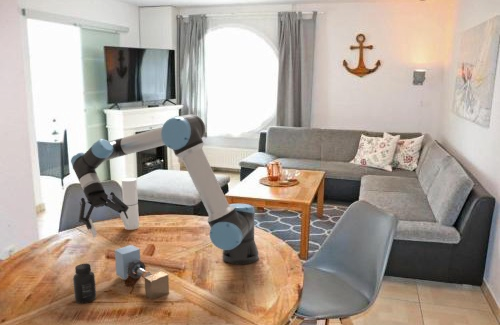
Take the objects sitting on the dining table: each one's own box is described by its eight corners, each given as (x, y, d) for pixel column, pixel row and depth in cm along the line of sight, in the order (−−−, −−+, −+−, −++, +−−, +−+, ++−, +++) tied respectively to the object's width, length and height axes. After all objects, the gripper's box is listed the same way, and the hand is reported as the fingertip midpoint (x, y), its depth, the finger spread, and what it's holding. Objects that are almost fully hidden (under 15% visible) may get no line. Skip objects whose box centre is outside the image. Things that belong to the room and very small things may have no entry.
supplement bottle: (99, 293, 147) (96, 261, 145) (92, 303, 141) (89, 270, 138) (79, 294, 147) (76, 262, 145) (71, 304, 140) (68, 271, 138)
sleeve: (116, 274, 160) (114, 249, 158) (132, 268, 164) (131, 244, 163) (124, 279, 155) (122, 254, 154) (140, 273, 160) (139, 249, 158)
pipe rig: (115, 276, 160) (114, 259, 159) (132, 270, 165) (131, 254, 164) (151, 300, 143) (150, 281, 142) (169, 293, 148) (168, 274, 146)
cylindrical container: (135, 230, 209) (132, 181, 204) (121, 229, 211) (118, 180, 206) (141, 225, 216) (139, 178, 211) (128, 224, 218) (125, 177, 213)
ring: (128, 279, 154) (127, 263, 153) (142, 273, 158) (142, 258, 157) (130, 280, 153) (129, 264, 152) (145, 275, 157) (144, 259, 156)
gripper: (117, 186, 183) (137, 227, 176) (59, 197, 166) (78, 244, 158) (122, 176, 178) (143, 218, 171) (63, 187, 161) (83, 234, 154)
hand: (112, 231), depth 165 cm, fingers open, 13 cm apart
